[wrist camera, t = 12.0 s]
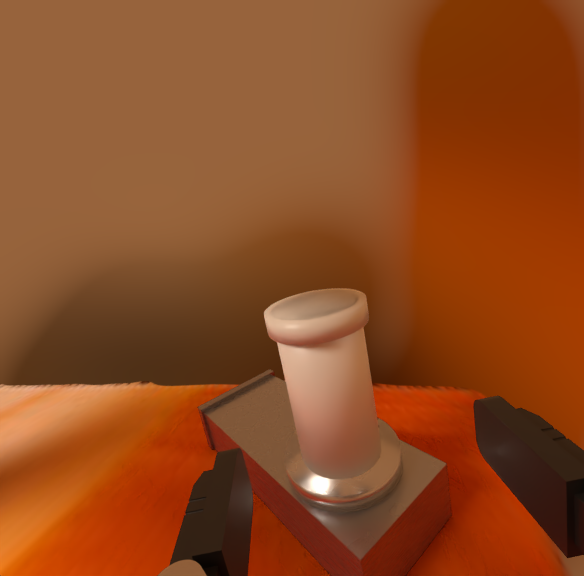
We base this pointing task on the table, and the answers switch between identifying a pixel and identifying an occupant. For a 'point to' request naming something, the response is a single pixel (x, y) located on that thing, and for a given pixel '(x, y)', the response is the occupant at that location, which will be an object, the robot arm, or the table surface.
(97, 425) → the table surface
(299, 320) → the white flanged cylinder
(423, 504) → the grey soap dish block
